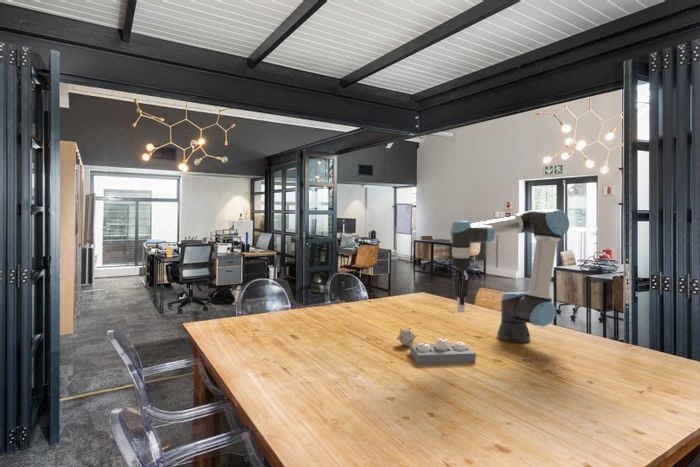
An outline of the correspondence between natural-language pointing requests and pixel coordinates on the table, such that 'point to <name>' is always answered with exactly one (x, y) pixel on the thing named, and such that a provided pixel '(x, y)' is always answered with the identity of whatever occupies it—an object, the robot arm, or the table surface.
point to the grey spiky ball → (406, 337)
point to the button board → (442, 355)
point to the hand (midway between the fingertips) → (460, 311)
